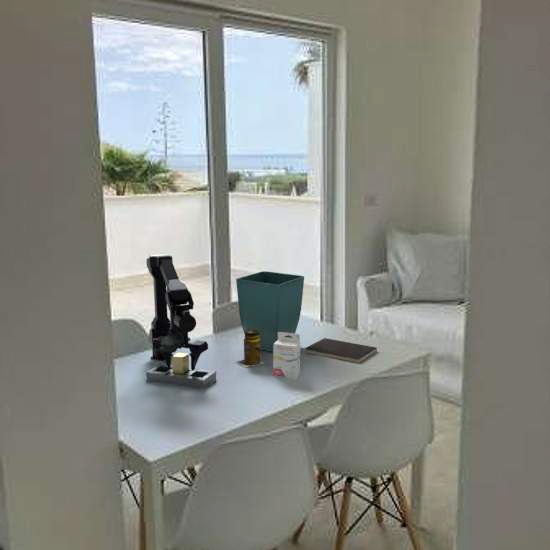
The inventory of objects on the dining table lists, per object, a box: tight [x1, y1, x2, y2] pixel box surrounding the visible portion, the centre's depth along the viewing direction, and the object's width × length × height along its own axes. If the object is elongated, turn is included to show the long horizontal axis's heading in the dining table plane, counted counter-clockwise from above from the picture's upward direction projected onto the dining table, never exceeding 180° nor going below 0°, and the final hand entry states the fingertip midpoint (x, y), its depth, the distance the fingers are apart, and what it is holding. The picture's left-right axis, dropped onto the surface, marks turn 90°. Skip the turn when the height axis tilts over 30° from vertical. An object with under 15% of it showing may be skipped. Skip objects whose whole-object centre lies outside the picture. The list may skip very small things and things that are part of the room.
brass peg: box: [171, 352, 190, 375], centre depth 200 cm, size 4×4×9 cm
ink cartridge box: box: [272, 332, 301, 379], centre depth 204 cm, size 9×5×15 cm, turn 71°
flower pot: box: [235, 270, 305, 353], centre depth 234 cm, size 20×20×28 cm
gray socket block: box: [145, 363, 217, 390], centre depth 201 cm, size 22×9×3 cm, turn 68°
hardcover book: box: [304, 337, 378, 363], centre depth 229 cm, size 16×23×2 cm
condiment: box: [235, 330, 265, 368], centre depth 216 cm, size 7×8×12 cm
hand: (180, 368), depth 200 cm, fingers open, 9 cm apart
